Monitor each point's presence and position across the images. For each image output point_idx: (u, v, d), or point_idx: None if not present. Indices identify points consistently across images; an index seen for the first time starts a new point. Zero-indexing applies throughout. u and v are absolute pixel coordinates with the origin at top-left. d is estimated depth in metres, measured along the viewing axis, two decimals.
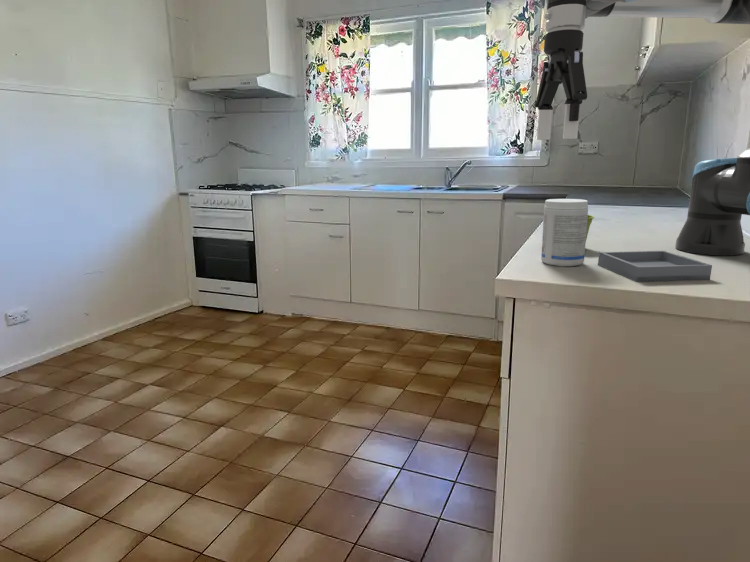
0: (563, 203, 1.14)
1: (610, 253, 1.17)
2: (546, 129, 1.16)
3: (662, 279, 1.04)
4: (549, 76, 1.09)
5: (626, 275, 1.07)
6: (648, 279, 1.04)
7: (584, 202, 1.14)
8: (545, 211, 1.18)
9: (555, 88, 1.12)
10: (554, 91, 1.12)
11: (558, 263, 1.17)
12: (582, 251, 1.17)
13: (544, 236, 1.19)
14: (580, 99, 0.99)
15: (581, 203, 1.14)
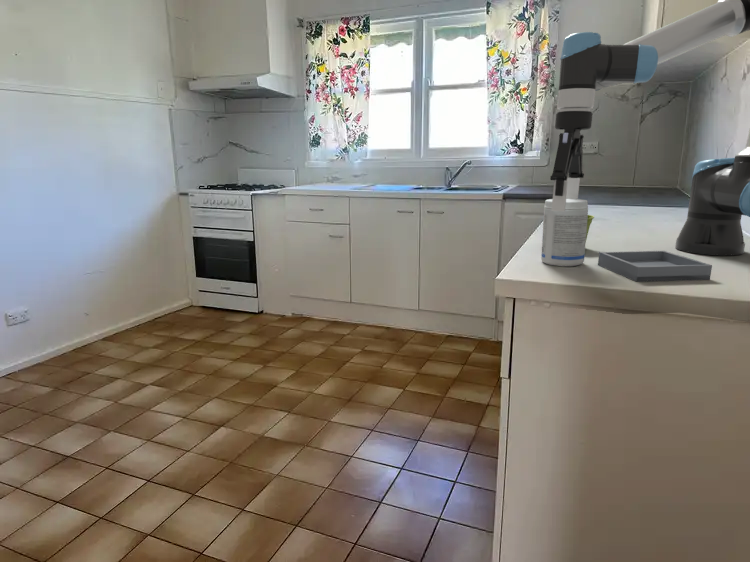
0: None
1: (610, 253, 1.17)
2: (573, 196, 1.22)
3: (662, 279, 1.04)
4: None
5: (626, 275, 1.07)
6: (648, 279, 1.04)
7: (584, 202, 1.14)
8: (545, 211, 1.18)
9: (576, 159, 1.18)
10: (576, 162, 1.19)
11: (558, 263, 1.17)
12: (582, 251, 1.17)
13: (544, 236, 1.19)
14: (559, 177, 1.08)
15: (581, 203, 1.14)
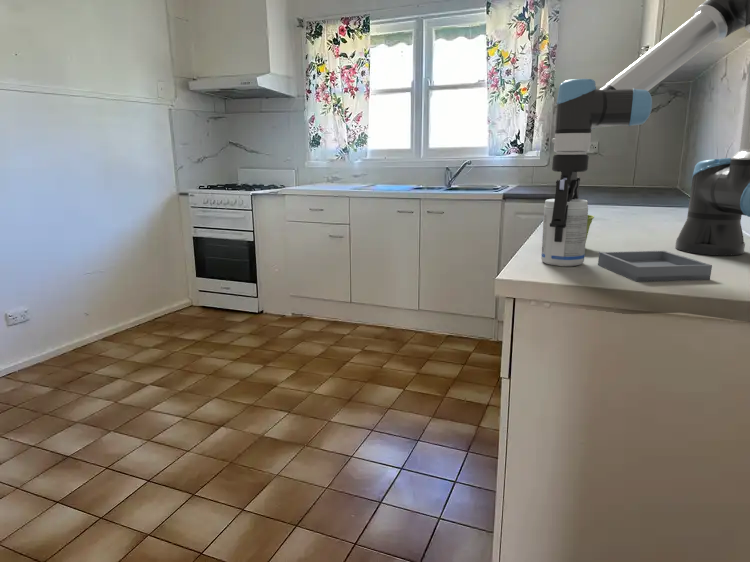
0: None
1: (610, 253, 1.17)
2: None
3: (662, 279, 1.04)
4: None
5: (626, 275, 1.07)
6: (648, 279, 1.04)
7: (584, 202, 1.14)
8: (545, 211, 1.18)
9: None
10: None
11: (558, 263, 1.17)
12: (582, 251, 1.17)
13: (544, 236, 1.19)
14: (558, 225, 1.12)
15: (581, 203, 1.14)
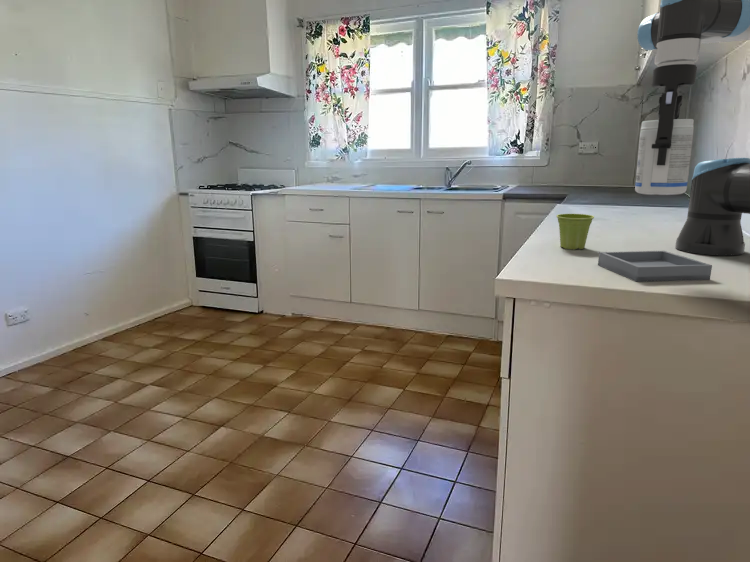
0: None
1: (610, 253, 1.17)
2: None
3: (662, 279, 1.04)
4: None
5: (626, 275, 1.07)
6: (648, 279, 1.04)
7: (691, 120, 1.01)
8: (643, 133, 1.04)
9: None
10: None
11: (659, 191, 1.03)
12: (687, 177, 1.03)
13: (641, 162, 1.06)
14: (663, 144, 0.99)
15: (688, 120, 1.00)
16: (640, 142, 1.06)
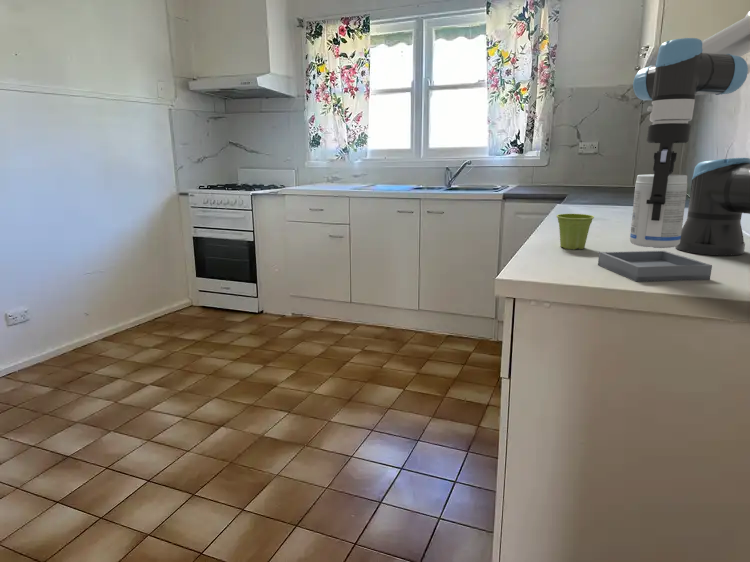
0: None
1: (610, 253, 1.17)
2: None
3: (662, 279, 1.04)
4: None
5: (626, 275, 1.07)
6: (648, 279, 1.04)
7: (685, 176, 1.03)
8: (638, 187, 1.07)
9: None
10: None
11: (654, 245, 1.06)
12: (680, 231, 1.06)
13: (636, 215, 1.08)
14: (658, 201, 1.01)
15: (682, 177, 1.03)
16: (635, 195, 1.08)
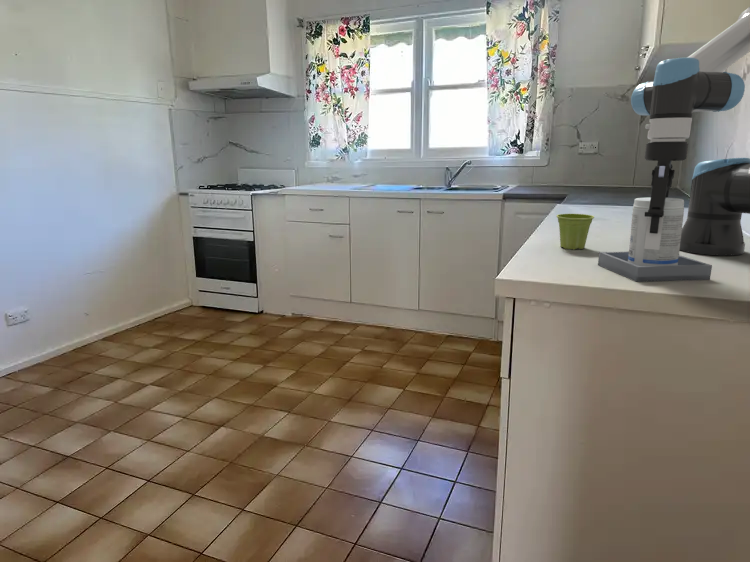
0: None
1: (610, 253, 1.17)
2: None
3: (662, 279, 1.04)
4: None
5: (626, 275, 1.07)
6: (648, 279, 1.04)
7: (681, 201, 1.04)
8: (635, 211, 1.08)
9: None
10: None
11: None
12: (677, 254, 1.07)
13: (634, 238, 1.09)
14: (656, 214, 1.00)
15: (679, 202, 1.04)
16: (633, 219, 1.10)
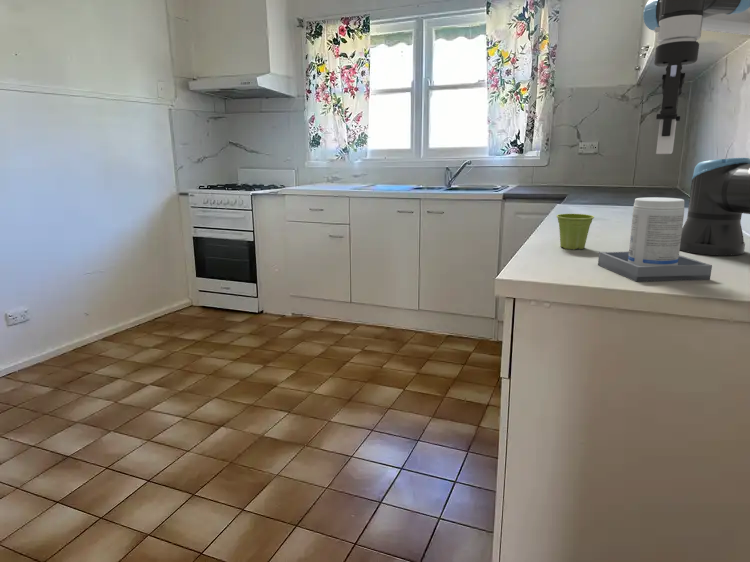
0: (659, 202, 1.04)
1: (610, 253, 1.17)
2: None
3: (662, 279, 1.04)
4: None
5: (626, 275, 1.07)
6: (648, 279, 1.04)
7: (682, 201, 1.04)
8: (636, 211, 1.08)
9: None
10: None
11: None
12: (677, 255, 1.07)
13: (634, 238, 1.09)
14: (668, 114, 0.97)
15: (679, 202, 1.04)
16: (633, 219, 1.10)
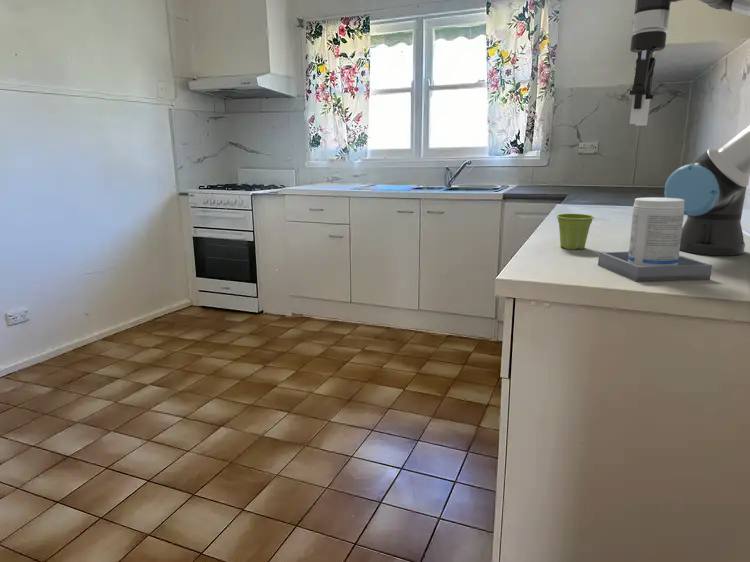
0: (659, 202, 1.04)
1: (610, 253, 1.17)
2: (643, 116, 1.34)
3: (662, 279, 1.04)
4: None
5: (626, 275, 1.07)
6: (648, 279, 1.04)
7: (682, 201, 1.04)
8: (636, 211, 1.08)
9: (648, 80, 1.30)
10: (648, 83, 1.30)
11: None
12: (677, 254, 1.07)
13: (634, 238, 1.09)
14: (639, 90, 1.20)
15: (679, 202, 1.04)
16: (633, 219, 1.10)
